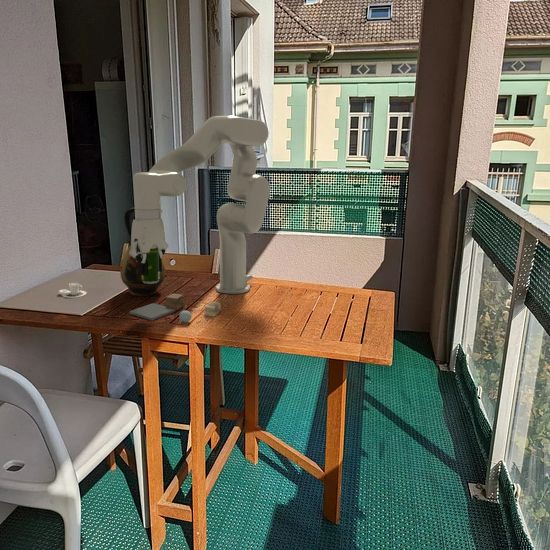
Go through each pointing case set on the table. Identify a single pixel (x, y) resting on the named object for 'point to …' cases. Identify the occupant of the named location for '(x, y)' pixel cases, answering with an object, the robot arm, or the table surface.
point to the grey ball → (185, 316)
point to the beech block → (212, 309)
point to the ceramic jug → (136, 268)
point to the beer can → (152, 266)
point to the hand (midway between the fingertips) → (150, 272)
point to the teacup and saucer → (72, 290)
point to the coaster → (152, 311)
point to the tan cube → (174, 301)
